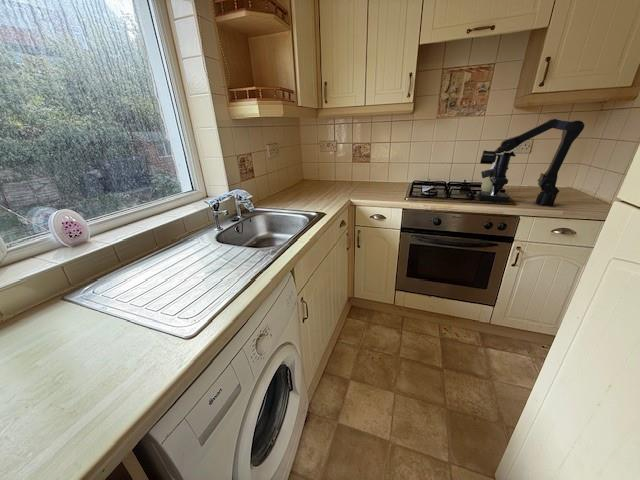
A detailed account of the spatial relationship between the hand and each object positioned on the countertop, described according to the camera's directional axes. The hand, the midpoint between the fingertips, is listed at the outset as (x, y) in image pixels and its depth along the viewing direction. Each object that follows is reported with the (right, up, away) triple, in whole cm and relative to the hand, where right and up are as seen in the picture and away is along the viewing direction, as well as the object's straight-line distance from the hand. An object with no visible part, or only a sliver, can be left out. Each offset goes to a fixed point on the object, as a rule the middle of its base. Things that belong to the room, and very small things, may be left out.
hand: (493, 193), depth 145 cm
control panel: (0, -3, +1) cm, 3 cm away
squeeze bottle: (+6, +3, +15) cm, 16 cm away
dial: (0, 0, 0) cm, 0 cm away
